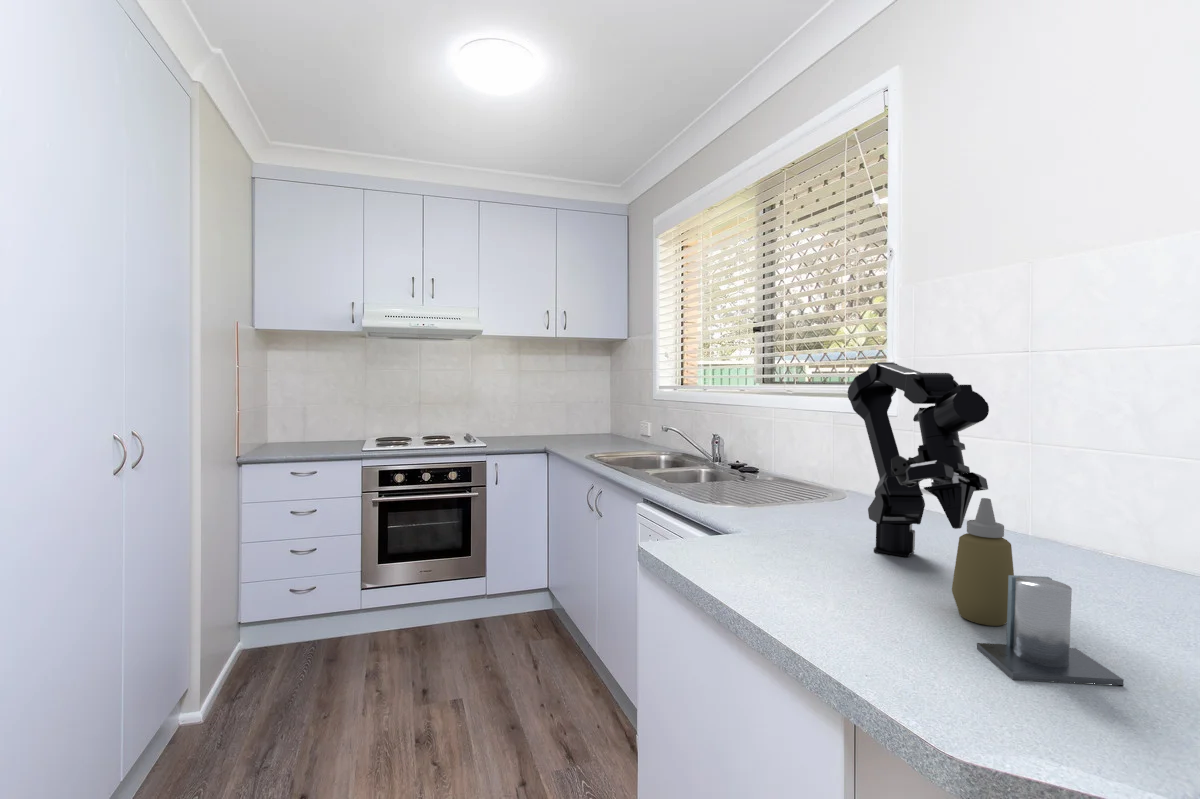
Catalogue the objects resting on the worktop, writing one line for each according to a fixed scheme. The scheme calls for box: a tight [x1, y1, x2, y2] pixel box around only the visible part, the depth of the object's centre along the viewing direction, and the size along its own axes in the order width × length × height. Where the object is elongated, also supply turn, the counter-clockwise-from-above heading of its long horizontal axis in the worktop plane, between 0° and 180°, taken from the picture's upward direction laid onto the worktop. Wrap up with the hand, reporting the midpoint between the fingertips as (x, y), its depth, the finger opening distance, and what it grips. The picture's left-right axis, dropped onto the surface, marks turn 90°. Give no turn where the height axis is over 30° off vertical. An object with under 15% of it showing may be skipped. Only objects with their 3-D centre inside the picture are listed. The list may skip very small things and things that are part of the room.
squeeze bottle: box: [951, 497, 1015, 627], centre depth 86 cm, size 8×8×18 cm
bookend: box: [976, 574, 1125, 686], centre depth 72 cm, size 8×12×10 cm, turn 84°
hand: (956, 528), depth 99 cm, fingers closed
